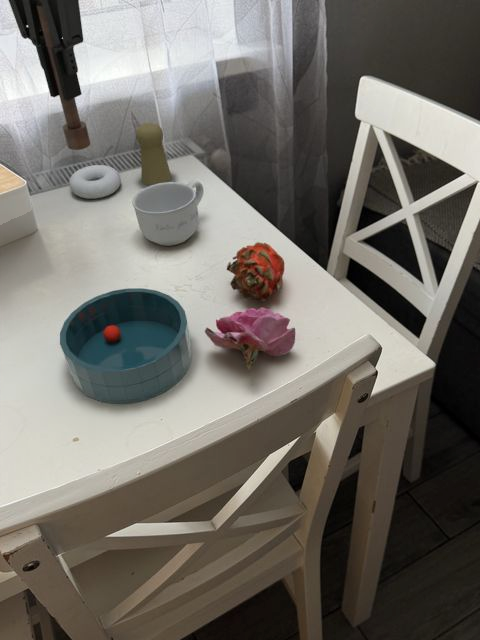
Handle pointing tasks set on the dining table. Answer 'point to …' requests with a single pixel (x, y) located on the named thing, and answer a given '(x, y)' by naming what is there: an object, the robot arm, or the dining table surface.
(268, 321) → the flower
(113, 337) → the red ball
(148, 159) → the olive pawn
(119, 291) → the bowl
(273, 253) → the dragon fruit
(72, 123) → the stirring stick
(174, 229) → the teacup
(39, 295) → the dining table surface
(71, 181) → the donut
